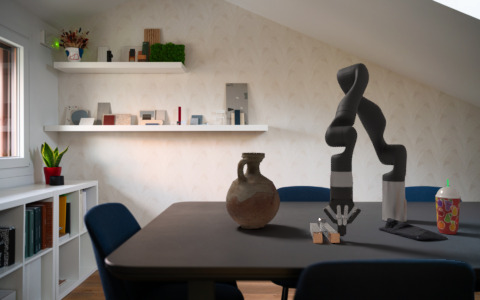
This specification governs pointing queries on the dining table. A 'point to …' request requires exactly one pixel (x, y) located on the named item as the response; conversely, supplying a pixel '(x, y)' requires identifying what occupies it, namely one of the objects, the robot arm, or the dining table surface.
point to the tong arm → (329, 232)
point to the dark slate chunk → (410, 231)
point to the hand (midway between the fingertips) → (341, 235)
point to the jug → (252, 194)
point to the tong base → (316, 230)
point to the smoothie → (447, 209)
